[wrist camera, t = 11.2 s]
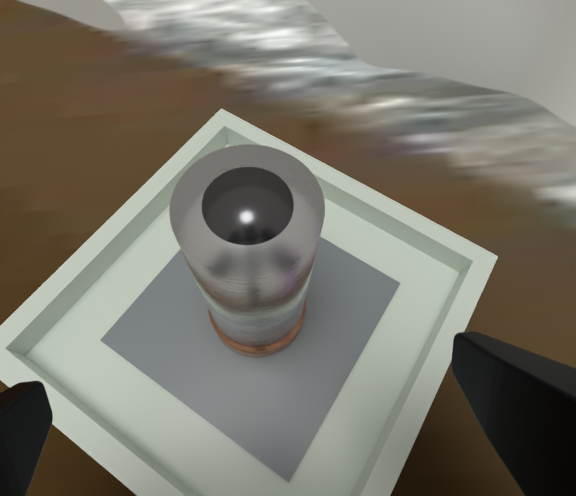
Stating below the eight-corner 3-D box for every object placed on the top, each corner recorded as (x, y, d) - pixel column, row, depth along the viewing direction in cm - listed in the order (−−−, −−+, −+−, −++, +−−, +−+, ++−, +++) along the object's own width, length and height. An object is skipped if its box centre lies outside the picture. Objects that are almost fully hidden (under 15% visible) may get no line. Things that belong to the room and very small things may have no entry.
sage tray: (313, 622, 16) (320, 650, 13) (4, 364, 19) (-29, 354, 17) (476, 274, 23) (498, 256, 20) (225, 135, 26) (221, 108, 24)
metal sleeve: (229, 372, 19) (191, 307, 10) (200, 286, 21) (145, 165, 12) (319, 335, 20) (359, 245, 11) (283, 256, 22) (291, 123, 13)
